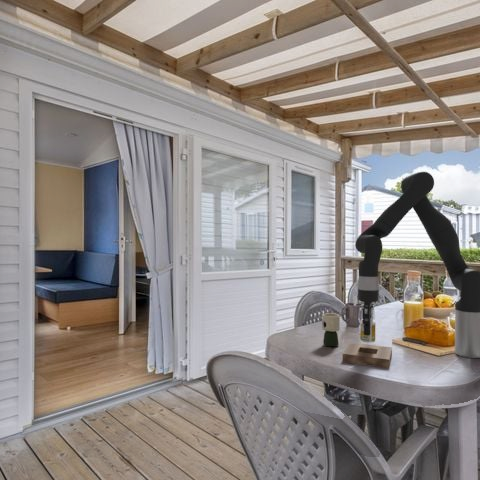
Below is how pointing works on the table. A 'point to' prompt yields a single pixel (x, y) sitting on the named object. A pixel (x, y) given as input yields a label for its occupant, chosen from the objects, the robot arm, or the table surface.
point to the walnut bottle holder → (368, 355)
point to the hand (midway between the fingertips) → (367, 332)
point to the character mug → (330, 328)
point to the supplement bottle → (372, 332)
